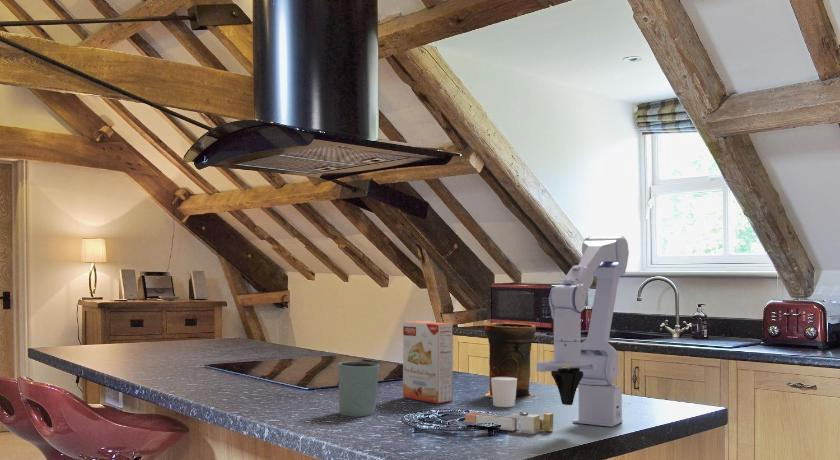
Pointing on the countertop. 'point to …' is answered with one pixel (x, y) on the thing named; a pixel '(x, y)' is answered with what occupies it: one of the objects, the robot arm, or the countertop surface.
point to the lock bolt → (546, 422)
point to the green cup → (358, 388)
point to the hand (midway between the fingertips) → (567, 404)
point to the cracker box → (428, 361)
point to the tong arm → (516, 420)
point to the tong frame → (509, 421)
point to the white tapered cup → (504, 391)
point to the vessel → (510, 354)
